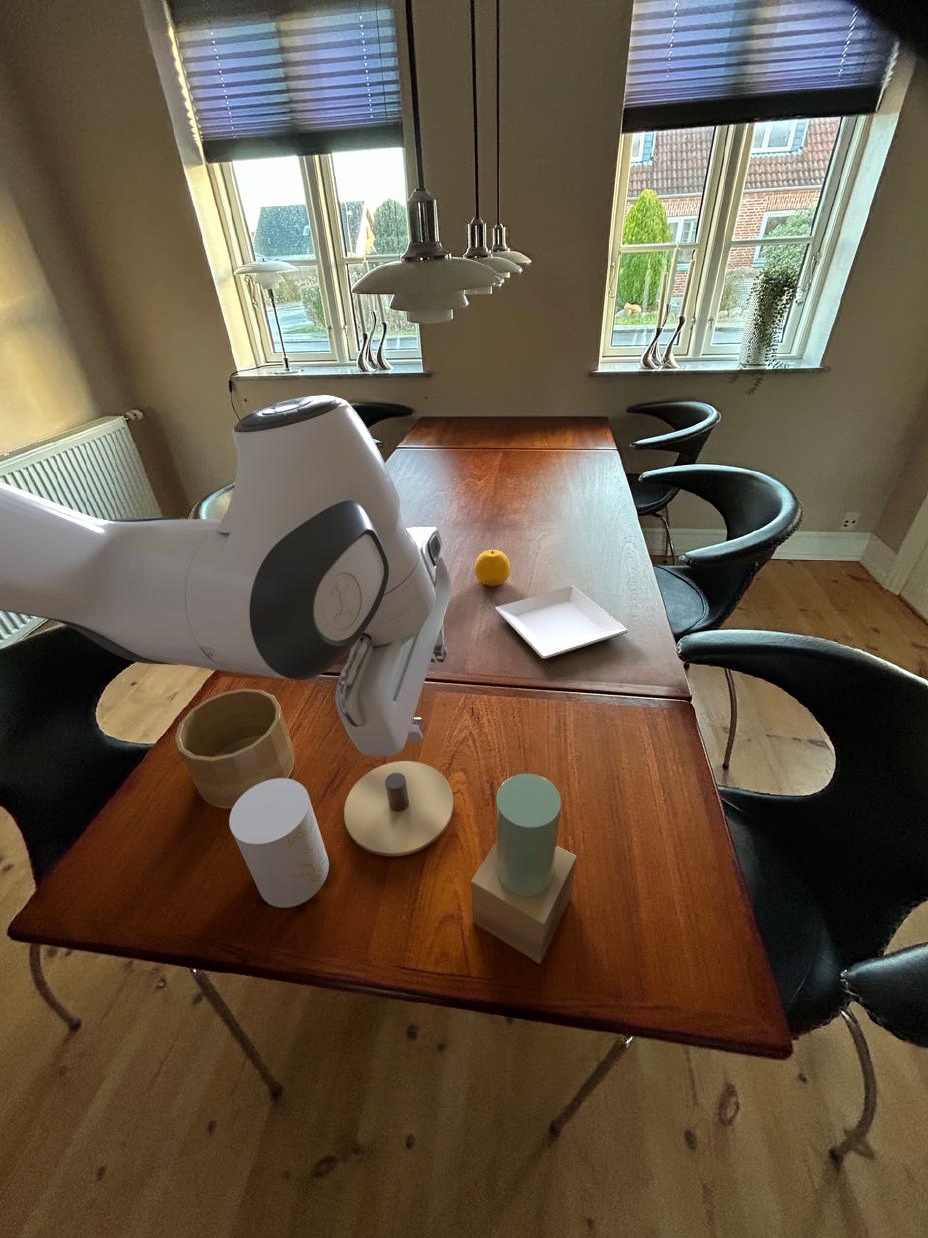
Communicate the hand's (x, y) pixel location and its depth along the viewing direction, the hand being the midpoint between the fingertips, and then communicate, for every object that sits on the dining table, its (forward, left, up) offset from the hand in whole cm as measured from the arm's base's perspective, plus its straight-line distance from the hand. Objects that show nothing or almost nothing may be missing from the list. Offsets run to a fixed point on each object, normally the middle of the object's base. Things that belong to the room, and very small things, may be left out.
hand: (428, 694), depth 53 cm
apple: (+59, +26, -24) cm, 69 cm away
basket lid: (+1, +7, -23) cm, 24 cm away
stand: (-3, -13, -24) cm, 27 cm away
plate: (+50, +6, -24) cm, 55 cm away
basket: (-5, +30, -24) cm, 39 cm away
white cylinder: (-13, +12, -24) cm, 30 cm away
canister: (-3, -13, -16) cm, 20 cm away
